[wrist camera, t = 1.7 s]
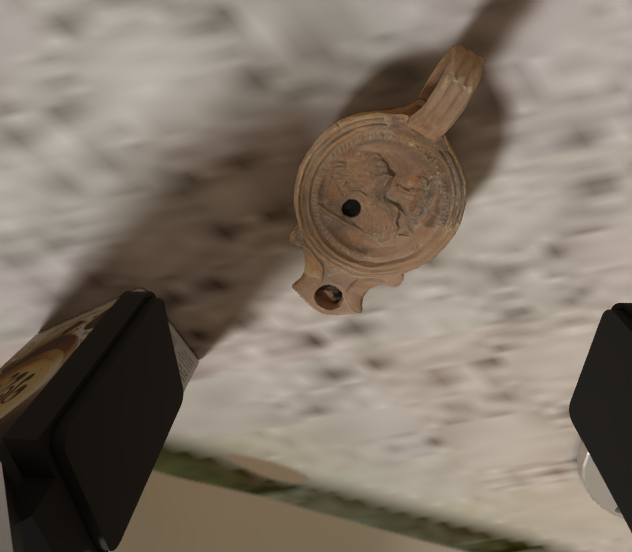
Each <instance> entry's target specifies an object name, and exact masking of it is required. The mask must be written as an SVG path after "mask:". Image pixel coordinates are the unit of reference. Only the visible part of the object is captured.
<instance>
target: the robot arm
mask: <svg viewBox="0 0 632 552" xmlns="http://www.w3.org/2000/svg"><path fill="white" fill-rule="evenodd" d="M182 400H183V385H182V381H181V376H180V372H179V367H178V363H177V359H176V354H175V350H174V345H173V341H172V336H171V332H170V328H169V323H168V319H167V314H166V310H165V305H164V302H163V300H162V299H160V298H156V296H155V294H154V293H153V292H140V291H126V292H124V293H123V294H122V295H121V296H120V297H119V298H118V300H117V301H116V302H115V303H114V304H113V305H112V307H111V308H110V309H109V310H108V311H107V313H106V314H105V315H104V316H103V317H102V319H101V320H100V321H99V322H98V323H97V325H96V326H95V327H94V328H93V329H92V331H91V332H90V333H89V334H88V335H87V337H86V338H85V339H84V340H83V341H82V343H81V344H80V345H79V346H78V347H77V349H76V350H75V351H74V352H73V353H72V355H71V356H70V357H69V358H68V359H67V361H66V362H65V363H64V364H63V365H62V367H61V368H60V369H59V370H58V371H57V373H56V374H55V375H54V376H53V377H52V379H51V380H50V381H49V382H48V383H47V385H46V386H45V387H44V388H43V389H42V390H41V392H40V393H39V394H38V395H37V396H36V398H35V399H34V400H33V401H32V402H31V404H30V405H29V406H28V407H27V408H26V410H25V411H24V412H23V413H22V414H21V416H20V417H19V418H18V419H17V420H16V422H15V423H14V424H13V425H12V426H11V428H10V429H9V430H8V431H7V432H6V434H5V435H4V436H3V437H2V440H3V442H2V443H1V445H0V552H108V551H113V550H115V549H116V548H117V546H118V545H119V543H120V541H121V539H122V537H123V535H124V532H125V530H126V528H127V526H128V523H129V521H130V519H131V517H132V514H133V512H134V510H135V508H136V505H137V503H138V501H139V498H140V496H141V494H142V492H143V489H144V487H145V485H146V483H147V481H148V478H149V476H150V474H151V472H152V469H153V467H154V465H155V463H156V460H157V458H158V456H159V454H160V451H161V449H162V447H163V445H164V442H165V440H166V438H167V436H168V433H169V431H170V429H171V427H172V424H173V422H174V420H175V418H176V415H177V413H178V411H179V409H180V406H181V404H182ZM569 413H570V418H571V420H572V423H573V424H574V426H575V428H576V430H577V432H578V434H579V436H580V437H581V439H582V441H583V442H582V444H581V446H580V448H579V452H578V458H577V466H578V473H579V476H580V478H581V480H582V482H583V485H584V487H585V489H586V491H587V492H588V494H589V495H590V497H591V498H592V500H593V501H595V502H596V503H597V504H598V505H599V506H600V507H601V508H603V509H604V510H606V511H608V512H609V513H611V514H613V515H615V516H618V517H621V518H624V519H625V521H626V523H627V525H628V526H629V528H630V530H631V532H632V303H617V304H615V305H614V306H613V307H612V309H611V310H606V311H605V312H604V313H603V315H602V317H601V320H600V323H599V325H598V328H597V331H596V334H595V336H594V339H593V342H592V344H591V347H590V350H589V353H588V355H587V358H586V361H585V364H584V366H583V369H582V372H581V374H580V377H579V380H578V383H577V385H576V388H575V391H574V393H573V396H572V399H571V402H570V405H569Z"/></svg>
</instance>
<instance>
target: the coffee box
mask: <svg viewBox="0 0 632 552" xmlns="http://www.w3.org/2000/svg"><path fill="white" fill-rule="evenodd" d="M134 291H140V292H146V291H145V290H143V289H136V290H134ZM118 298H119V297H118ZM118 298H116V299H114V300H111V301H109V302H107V303H105V304H103V305H101V306H99V307H96V308H94V309H92V310H90V311H88V312H85V313H83V314H81V315H79V316H77V317H74V318H72V319H70V320H68V321H65V322H63V323H61V324H59V325H57V326H54V327H52V328H50V329H48V330H46V331H43V332H41V333H39V334H37V335H35V336H34V337H33V338H32V339H31V340H30V341H29V342H28V343H27V344H26V345H25V346H24V347H23V348H21V349H20V350H19V351H18V352H17V353H16V354H15V355H14V356H13V357H12V358H11V359H10V360H9V361H8V362H6V363H5V364H4V365H3V366H2V367H1V368H0V445H1V443H2V442H3V440H2V437H3V436H4V435H5V434H6V432H7V431H8V430H9V429H10V428H11V426H12V425H13V424H14V423H15V422H16V420H17V419H18V418H19V417H20V416H21V414H22V413H23V412H24V411H25V410H26V408H27V407H28V406H29V405H30V404H31V402H32V401H33V400H34V399H35V398H36V396H37V395H38V394H39V393H40V392H41V390H42V389H43V388H44V387H45V386H46V385H47V383H48V382H49V381H50V380H51V379H52V377H53V376H54V375H55V374H56V373H57V371H58V370H59V369H60V368H61V367H62V365H63V364H64V363H65V362H66V361H67V359H68V358H69V357H70V356H71V355H72V353H73V352H74V351H75V350H76V349H77V347H78V346H79V345H80V344H81V343H82V341H83V340H84V339H85V338H86V337H87V335H88V334H89V333H90V332H91V331H92V329H93V328H94V327H95V326H96V325H97V323H98V322H99V321H100V320H101V319H102V317H103V316H104V315H105V314H106V313H107V311H108V310H109V309H110V308H111V307H112V305H113V304H114V303H115V302H116V301H117V300H118ZM168 323H169V328H170V332H171V336H172V341H173V345H174V350H175V354H176V359H177V363H178V367H179V372H180V376H181V381H182V385H183V392H184V390H185V388H186V386H187V384H188V382H189V380H190V379H191V377H192V375H193V373H194V371H195V369H196V367H197V365H198V359H197V358H196V357H195V355H194V354H193V353H192V351H191V350H190V349H189V347H188V346H187V345H186V343H185V342H184V341H183V340H182V338H181V337H180V336H179V334H178V333H177V332H176V330H175V329H174V328H173V326H172V325H171V324H170V322H169V321H168Z"/></svg>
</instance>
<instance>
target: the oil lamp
mask: <svg viewBox="0 0 632 552" xmlns="http://www.w3.org/2000/svg"><path fill="white" fill-rule="evenodd" d="M483 67H484V59H483V58H482V57H481V56H478V55H475V54H474V52H473V51H471V50H465V48H464V47H463V46H462V45H459V44H457V45H455V46H452V47H451V48H450V49H449V50H448V51H447V53H446V54H445V55H444V56H443V58H442V59H441V60H440V62H439V63H438V65H437V66H436V68H435V69H434V71H433V72H432V74H431V75H430V77H429V78H428V80H427V82H426V83H425V85H424V87H423V88H422V90H421V92H420V94H419V95H418V97H417V99H416V100H415V102H413V103H411V104H409V105H407V106H404V107H399V108H395V109H391V110H376V111H367V112H361V113H356V114H354V115H351V116H348V117H345V118H343V119H341V120H339V121H337V122H336V123H334V124H333V125H331V126H330V127H329V128H328V129H327V130H325V131H324V132H323V133H322V134H321V135H320V136H319V137H318V138H317V139H316V140H315V142H314V143H313V145H312V146H311V147H310V149H309V150H308V152H307V153H306V155H305V157H304V159H303V161H302V163H301V165H300V167H299V170H298V173H297V177H296V180H295V186H294V209H295V213H296V217H297V225H296V226H295V228H294V229H293V230H292V232H291V234H290V236H289V238H290V242H291V244H292V245H295V246H300V247H302V248H303V251H304V254H305V270H304V273H303V275H302V277H301V278H300V279H299V280H297V281H296V282H295V283H294V284H293V285H292V288H293V289H294V290H295V291H296V292H297V293H298V294H299V295H300V296H301V297H302V298H303V299H304V300H305V302H306V303H308V304H309V305H310V306H311V307H312V308H313V309H315V310H317V311H319V312H321V313H323V314H327V315H344V314H354V313H361V312H362V309H363V308H362V301H363V297H364V295H365V294H366V292H367V291H368V290H369V289H371V288H373V287H375V286H377V285H379V284H382V283H385V284H386V285H388V286H391V287H397V286H399V285H400V284H401V282H402V281H403V274H404V273H406V272H408V271H411V270H413V269H416V268H418V267H420V266H421V265H423V264H425V263H427V262H429V261H430V260H432V259H433V258H435V256H436V255H437V254H438V253H439V252H440V251H441V250H443V249H444V248H445V247H446V245H447V244H448V243H449V241H450V240H451V239H452V237H453V236H454V235H455V234H456V232H457V230H458V228H459V226H460V223H461V221H462V217H463V213H464V209H465V203H466V197H467V182H466V178H465V175H464V172H463V169H462V167H461V164H460V162H459V159H458V157H457V155H456V153H455V151H454V149H453V148H452V146H451V144H450V143H449V141H448V140H447V137H446V135H445V133H446V132H447V131H448V130H449V129H450V128H451V127H452V126H453V124H454V123H455V122H456V120H457V119H458V117H459V116H460V115H461V113H462V112H463V111H464V109H465V108H466V107H467V105H468V103H469V101H470V99H471V97H472V95H473V93H474V92H475V90H476V88H477V86H478V84H479V81H480V79H481V77H482V74H483Z"/></svg>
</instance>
